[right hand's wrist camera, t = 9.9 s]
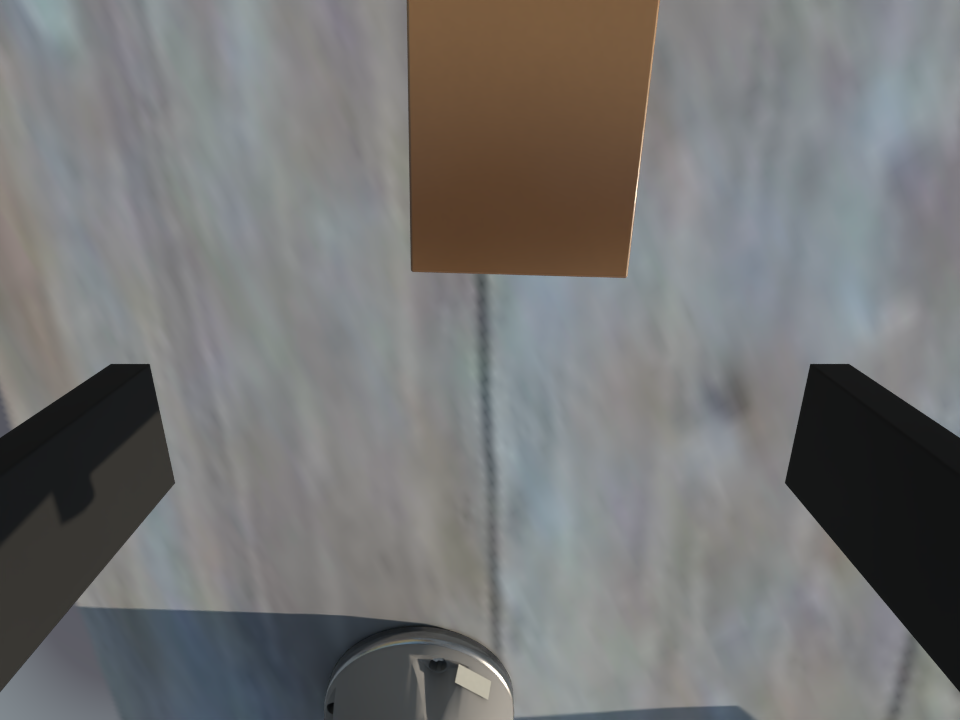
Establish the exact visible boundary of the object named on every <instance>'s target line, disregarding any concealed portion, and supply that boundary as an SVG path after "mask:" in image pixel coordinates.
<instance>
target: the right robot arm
mask: <svg viewBox="0 0 960 720" xmlns="http://www.w3.org/2000/svg"><path fill="white" fill-rule="evenodd" d="M174 484H175V481H174V476H173V471H172V467H171V462H170V457H169V453H168V448H167V443H166V439H165V434H164V429H163V425H162V420H161V415H160V411H159V406H158V401H157V397H156V392H155V387H154V383H153V378H152V373H151V369H150V364H110V365H109V366H107V367H106V368H104V369H103V370H101V371H100V372H98V373H97V374H95V375H94V376H92V377H91V378H89V379H88V380H86V381H85V382H83V383H82V384H80V385H79V386H77V387H76V388H74V389H73V390H71V391H70V392H68V393H67V394H65V395H64V396H62V397H61V398H59V399H58V400H56V401H55V402H53V403H52V404H50V405H49V406H47V407H46V408H44V409H43V410H41V411H40V412H38V413H37V414H35V415H34V416H32V417H31V418H29V419H28V420H26V421H25V422H23V423H22V424H20V425H19V426H17V427H16V428H14V429H13V430H11V431H10V432H8V433H7V434H5V435H4V436H2V437H1V438H0V692H1V690H2V689H3V688H4V687H5V686H6V684H7V683H8V682H9V681H10V680H11V678H12V677H13V676H14V675H15V674H16V672H17V671H18V670H19V669H20V668H21V667H22V665H23V664H24V663H25V662H26V661H27V659H28V658H29V657H30V656H31V655H32V653H33V652H34V651H35V650H36V649H37V647H38V646H39V645H40V644H41V643H42V641H43V640H44V639H45V638H46V637H47V635H48V634H49V633H50V632H51V631H52V629H53V628H54V627H55V626H56V625H57V623H58V622H59V621H60V620H61V619H62V617H63V616H64V615H65V614H66V613H67V612H68V610H69V609H70V608H71V607H72V606H73V604H74V603H75V602H76V601H77V600H78V598H79V597H80V596H81V595H82V594H83V592H84V591H85V590H86V589H87V588H88V586H89V585H90V584H91V583H92V582H93V580H94V579H95V578H96V577H97V576H98V574H99V573H100V572H101V571H102V570H103V568H104V567H105V566H106V565H107V564H108V562H109V561H110V560H111V559H112V558H113V556H114V555H115V554H116V553H117V552H118V551H119V549H120V548H121V547H122V546H123V545H124V543H125V542H126V541H127V540H128V539H129V537H130V536H131V535H132V534H133V533H134V531H135V530H136V529H137V528H138V527H139V525H140V524H141V523H142V522H143V521H144V519H145V518H146V517H147V516H148V515H149V513H150V512H151V511H152V510H153V509H154V507H155V506H156V505H157V504H158V503H159V501H160V500H161V499H162V498H163V497H164V495H165V494H166V493H167V492H168V491H169V490H170V488H171V487H172V486H173V485H174ZM785 484H786V485H787V486H788V487H789V488H790V490H791V491H792V492H793V493H794V494H795V495H796V497H797V498H798V499H799V500H800V501H801V503H802V504H803V505H804V506H805V507H806V509H807V510H808V511H809V512H810V513H811V515H812V516H813V517H814V518H815V519H816V521H817V522H818V523H819V524H820V525H821V527H822V528H823V529H824V530H825V531H826V533H827V534H828V535H829V536H830V537H831V539H832V540H833V541H834V542H835V543H836V545H837V546H838V547H839V548H840V549H841V551H842V552H843V553H844V554H845V555H846V556H847V558H848V559H849V560H850V561H851V562H852V564H853V565H854V566H855V567H856V568H857V570H858V571H859V572H860V573H861V574H862V576H863V577H864V578H865V579H866V580H867V582H868V583H869V584H870V585H871V586H872V588H873V589H874V590H875V591H876V592H877V594H878V595H879V596H880V597H881V598H882V600H883V601H884V602H885V603H886V604H887V606H888V607H889V608H890V609H891V610H892V612H893V613H894V614H895V615H896V616H897V618H898V619H899V620H900V621H901V622H902V623H903V625H904V626H905V627H906V628H907V629H908V631H909V632H910V633H911V634H912V635H913V637H914V638H915V639H916V640H917V641H918V643H919V644H920V645H921V646H922V647H923V649H924V650H925V651H926V652H927V653H928V655H929V656H930V657H931V658H932V659H933V661H934V662H935V663H936V664H937V665H938V667H939V668H940V669H941V670H942V671H943V673H944V674H945V675H946V676H947V677H948V679H949V680H950V681H951V682H952V683H953V684H954V686H955V687H956V688H957V689H958V690H959V692H960V438H959V437H958V436H956V435H955V434H953V433H952V432H950V431H949V430H947V429H946V428H944V427H943V426H941V425H940V424H938V423H937V422H935V421H934V420H932V419H931V418H929V417H928V416H926V415H925V414H923V413H922V412H920V411H919V410H917V409H916V408H914V407H913V406H911V405H910V404H908V403H907V402H905V401H904V400H902V399H901V398H899V397H898V396H896V395H895V394H893V393H892V392H890V391H889V390H887V389H886V388H884V387H883V386H881V385H880V384H878V383H877V382H875V381H874V380H872V379H871V378H869V377H868V376H866V375H865V374H863V373H862V372H860V371H859V370H857V369H856V368H854V367H853V366H851V365H850V364H810V369H809V373H808V378H807V383H806V387H805V392H804V397H803V401H802V406H801V411H800V415H799V420H798V425H797V429H796V434H795V439H794V443H793V448H792V453H791V457H790V462H789V467H788V471H787V476H786V481H785ZM324 719H325V720H514V702H513V688H512V684H511V680H510V677H509V675H508V673H507V671H506V669H505V668H504V666H503V665H502V663H501V662H500V661H499V659H498V658H497V657H496V656H495V655H494V654H493V653H492V652H491V651H489V650H488V649H487V648H486V647H484V646H483V645H481V644H480V643H478V642H476V641H474V640H473V639H471V638H469V637H466V636H464V635H462V634H459V633H456V632H453V631H449V630H445V629H440V628H434V627H416V626H414V627H402V628H395V629H390V630H386V631H383V632H380V633H377V634H374V635H372V636H369V637H367V638H365V639H363V640H362V641H360V642H359V643H357V644H355V645H354V646H353V647H352V648H350V649H349V650H348V651H347V652H346V653H345V654H344V655H343V656H342V657H341V659H340V660H339V661H338V663H337V664H336V666H335V668H334V670H333V672H332V675H331V678H330V681H329V685H328V689H327V693H326V696H325V702H324Z"/></svg>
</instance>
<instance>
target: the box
mask: <svg viewBox="0 0 960 720" xmlns="http://www.w3.org/2000/svg"><path fill="white" fill-rule="evenodd" d="M659 2H660V0H407V47H408V111H409V175H410V240H411V271H412V272H436V273H472V274H507V275H542V276H577V277H612V278H626V277H627V274H628V265H629V257H630V248H631V240H632V231H633V223H634V214H635V206H636V197H637V189H638V180H639V172H640V163H641V155H642V146H643V138H644V129H645V121H646V112H647V104H648V96H649V87H650V79H651V70H652V62H653V53H654V45H655V36H656V28H657V19H658V11H659Z"/></svg>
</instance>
